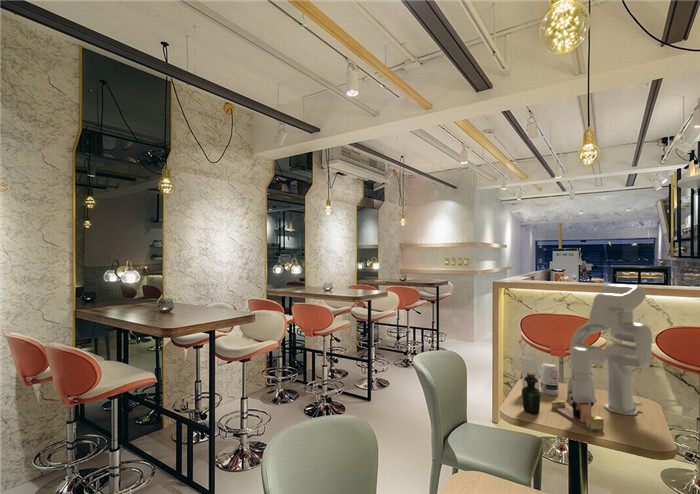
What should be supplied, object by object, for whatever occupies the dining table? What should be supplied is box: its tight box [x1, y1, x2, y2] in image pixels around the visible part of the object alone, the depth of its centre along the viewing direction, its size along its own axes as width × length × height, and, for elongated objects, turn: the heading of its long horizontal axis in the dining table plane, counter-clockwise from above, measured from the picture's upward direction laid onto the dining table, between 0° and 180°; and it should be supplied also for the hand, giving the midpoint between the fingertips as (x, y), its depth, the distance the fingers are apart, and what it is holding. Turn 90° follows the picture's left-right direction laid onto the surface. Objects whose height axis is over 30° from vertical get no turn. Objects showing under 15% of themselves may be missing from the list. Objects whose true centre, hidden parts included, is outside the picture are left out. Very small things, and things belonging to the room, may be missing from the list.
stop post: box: [586, 415, 605, 430], centre depth 148 cm, size 6×2×4 cm, turn 97°
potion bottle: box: [521, 372, 542, 416], centre depth 166 cm, size 8×8×18 cm
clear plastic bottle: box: [521, 351, 540, 390], centre depth 189 cm, size 6×6×22 cm
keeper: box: [572, 400, 592, 423], centre depth 155 cm, size 4×6×7 cm, turn 7°
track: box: [551, 400, 604, 433], centre depth 159 cm, size 6×23×4 cm, turn 7°
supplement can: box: [540, 362, 559, 396], centre depth 190 cm, size 8×8×15 cm
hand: (581, 417), depth 155 cm, fingers closed on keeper, 4 cm apart
